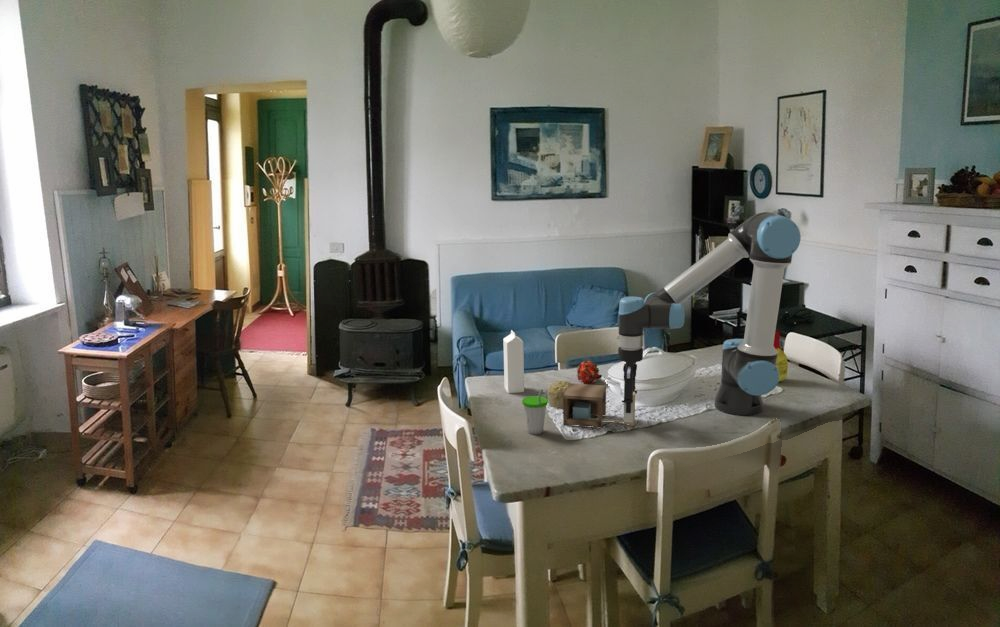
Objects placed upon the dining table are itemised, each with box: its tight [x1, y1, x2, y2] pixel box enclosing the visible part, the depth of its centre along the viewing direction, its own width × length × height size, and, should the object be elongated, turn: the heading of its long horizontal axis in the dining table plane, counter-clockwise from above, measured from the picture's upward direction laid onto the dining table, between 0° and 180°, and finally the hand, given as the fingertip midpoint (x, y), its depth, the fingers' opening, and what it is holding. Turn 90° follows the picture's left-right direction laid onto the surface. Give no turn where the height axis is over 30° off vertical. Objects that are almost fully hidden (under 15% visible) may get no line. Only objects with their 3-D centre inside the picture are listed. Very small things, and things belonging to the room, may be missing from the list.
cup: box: [521, 389, 549, 436], centre depth 213 cm, size 8×8×15 cm
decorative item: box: [547, 380, 571, 409], centre depth 237 cm, size 10×10×10 cm
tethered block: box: [572, 392, 636, 426], centre depth 221 cm, size 19×5×10 cm, turn 75°
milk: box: [502, 329, 525, 394], centre depth 250 cm, size 6×6×22 cm
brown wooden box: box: [562, 382, 607, 428], centre depth 222 cm, size 12×11×10 cm
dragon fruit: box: [576, 360, 603, 385], centre depth 258 cm, size 8×8×12 cm
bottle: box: [773, 328, 789, 382], centre depth 252 cm, size 12×6×20 cm, turn 102°
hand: (629, 417), depth 219 cm, fingers open, 6 cm apart
